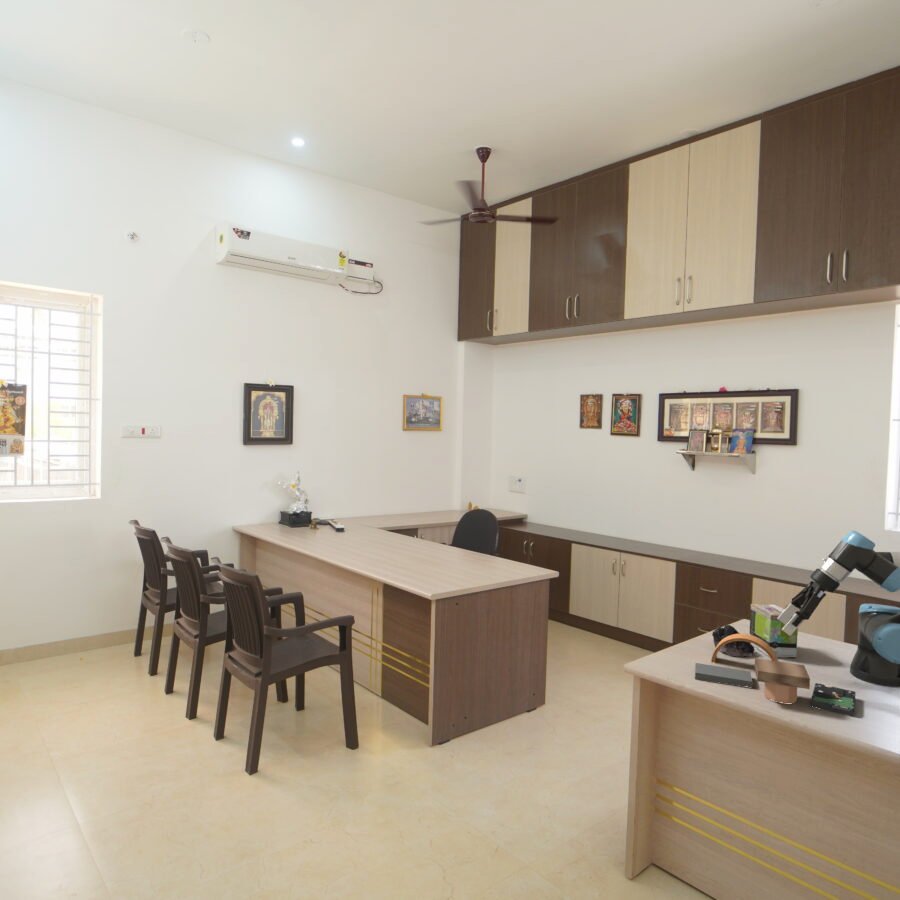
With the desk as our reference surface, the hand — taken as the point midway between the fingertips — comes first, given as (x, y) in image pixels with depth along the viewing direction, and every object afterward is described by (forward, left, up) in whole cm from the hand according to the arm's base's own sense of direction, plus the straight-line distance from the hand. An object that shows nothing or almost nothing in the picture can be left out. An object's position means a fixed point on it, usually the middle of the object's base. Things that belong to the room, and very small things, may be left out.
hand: (783, 627), depth 197 cm
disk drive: (-12, +14, -17) cm, 25 cm away
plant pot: (+2, +18, -16) cm, 24 cm away
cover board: (+2, +18, -10) cm, 21 cm away
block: (+17, +9, -16) cm, 25 cm away
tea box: (0, -27, -16) cm, 32 cm away
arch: (+10, -6, -16) cm, 20 cm away
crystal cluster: (+13, -20, -16) cm, 29 cm away
